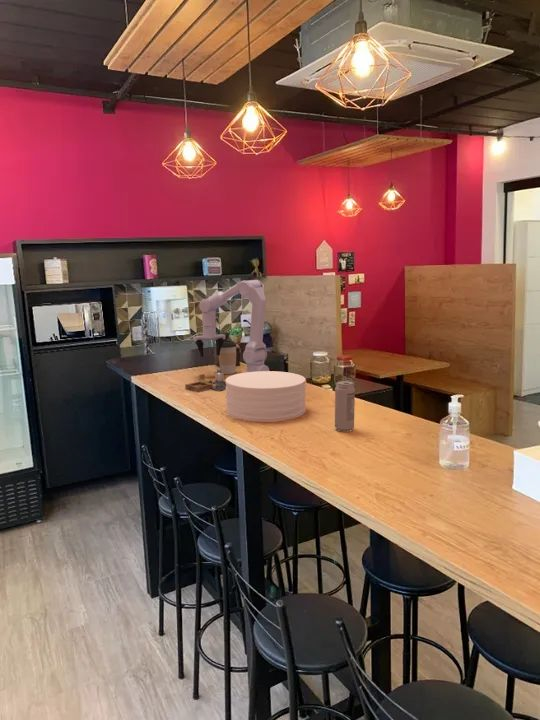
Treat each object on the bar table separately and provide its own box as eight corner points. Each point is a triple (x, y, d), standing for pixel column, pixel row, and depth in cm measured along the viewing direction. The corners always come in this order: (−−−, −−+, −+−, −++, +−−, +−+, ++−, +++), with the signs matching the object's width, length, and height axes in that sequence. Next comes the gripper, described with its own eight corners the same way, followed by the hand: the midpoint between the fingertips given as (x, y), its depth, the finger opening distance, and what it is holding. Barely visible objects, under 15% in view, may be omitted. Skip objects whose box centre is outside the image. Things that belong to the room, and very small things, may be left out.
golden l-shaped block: (212, 383, 238) (212, 375, 238) (208, 384, 237) (207, 376, 236) (203, 381, 242) (203, 373, 242) (199, 382, 241) (198, 374, 240)
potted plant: (212, 364, 283) (211, 329, 280) (232, 362, 288) (232, 327, 285) (223, 369, 269) (222, 332, 266) (244, 367, 274) (244, 331, 271)
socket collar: (239, 386, 234) (239, 384, 234) (218, 391, 225) (218, 389, 225) (220, 382, 242) (220, 380, 242) (199, 386, 233) (199, 385, 233)
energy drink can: (341, 425, 178) (341, 379, 175) (357, 429, 174) (358, 382, 172) (330, 430, 174) (331, 383, 171) (347, 433, 170) (348, 385, 167)
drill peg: (225, 386, 234) (224, 369, 232) (219, 387, 231) (218, 370, 230) (219, 385, 236) (219, 368, 235) (213, 386, 234) (213, 369, 232)
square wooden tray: (212, 388, 230) (212, 384, 229) (197, 392, 224) (197, 387, 224) (200, 385, 235) (200, 381, 235) (185, 389, 229) (185, 384, 229)
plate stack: (210, 409, 199) (209, 378, 197) (270, 396, 216) (270, 368, 214) (260, 427, 178) (259, 392, 176) (321, 411, 195) (322, 379, 193)
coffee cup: (236, 374, 256) (235, 342, 254) (217, 374, 257) (215, 342, 254) (238, 370, 265) (237, 339, 263) (219, 371, 266) (218, 340, 263)
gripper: (221, 324, 255) (222, 353, 257) (190, 325, 249) (191, 355, 251) (226, 325, 249) (227, 355, 251) (195, 327, 243) (196, 358, 245)
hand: (210, 355), depth 251 cm, fingers open, 7 cm apart
